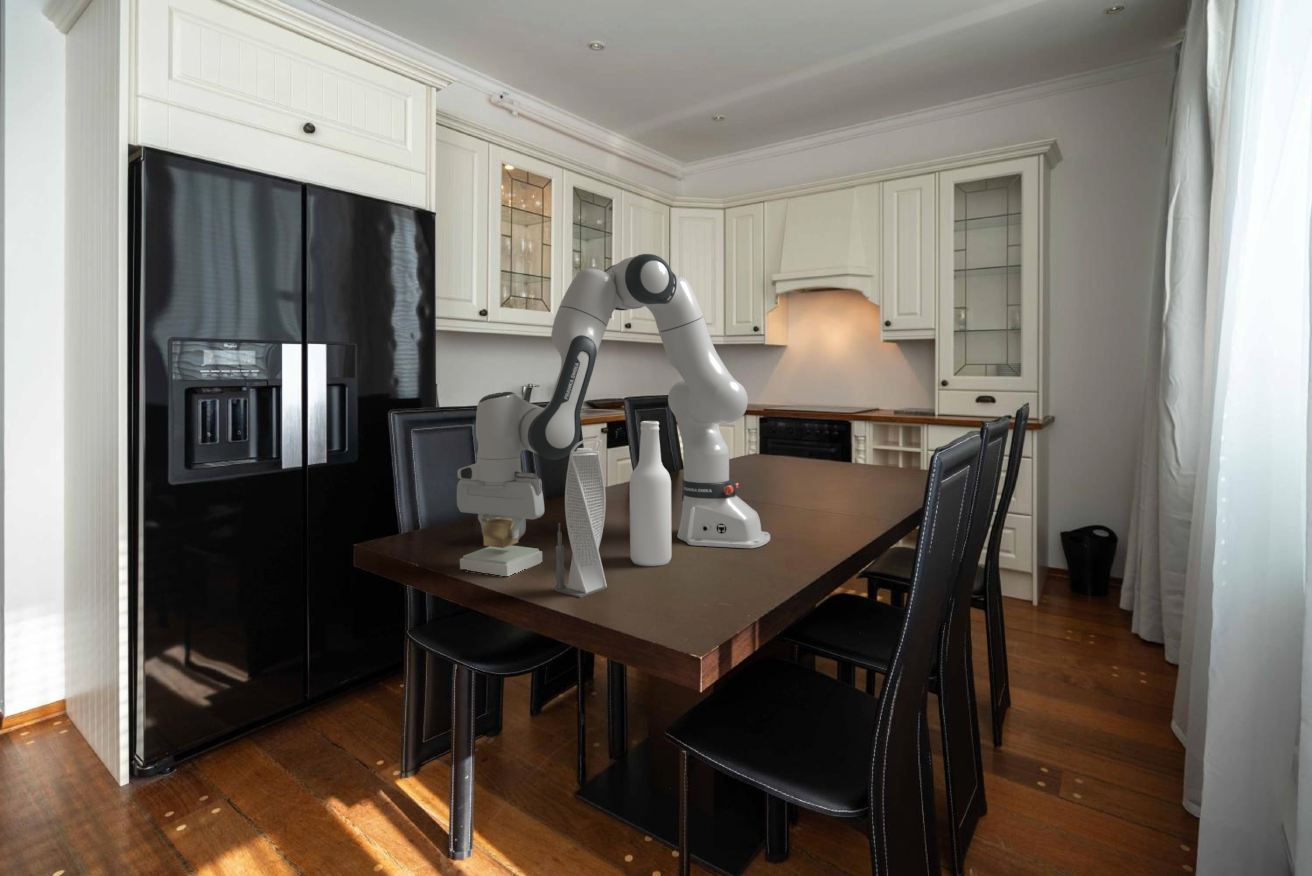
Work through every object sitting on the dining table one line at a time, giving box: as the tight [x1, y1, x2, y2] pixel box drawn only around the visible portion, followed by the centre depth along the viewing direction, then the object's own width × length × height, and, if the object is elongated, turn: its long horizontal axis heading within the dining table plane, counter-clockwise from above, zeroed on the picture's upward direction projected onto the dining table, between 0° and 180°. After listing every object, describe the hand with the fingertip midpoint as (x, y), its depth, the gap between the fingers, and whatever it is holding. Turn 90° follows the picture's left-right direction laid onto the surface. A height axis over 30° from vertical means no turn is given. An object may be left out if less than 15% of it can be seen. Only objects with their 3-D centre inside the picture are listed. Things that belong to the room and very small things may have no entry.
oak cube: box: [482, 517, 519, 548], centre depth 143 cm, size 5×5×5 cm
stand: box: [459, 545, 543, 577], centre depth 143 cm, size 12×12×3 cm
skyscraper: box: [553, 438, 608, 599], centre depth 127 cm, size 8×8×28 cm
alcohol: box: [629, 420, 673, 567], centre depth 145 cm, size 9×9×30 cm
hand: (501, 536), depth 143 cm, fingers closed on oak cube, 5 cm apart
